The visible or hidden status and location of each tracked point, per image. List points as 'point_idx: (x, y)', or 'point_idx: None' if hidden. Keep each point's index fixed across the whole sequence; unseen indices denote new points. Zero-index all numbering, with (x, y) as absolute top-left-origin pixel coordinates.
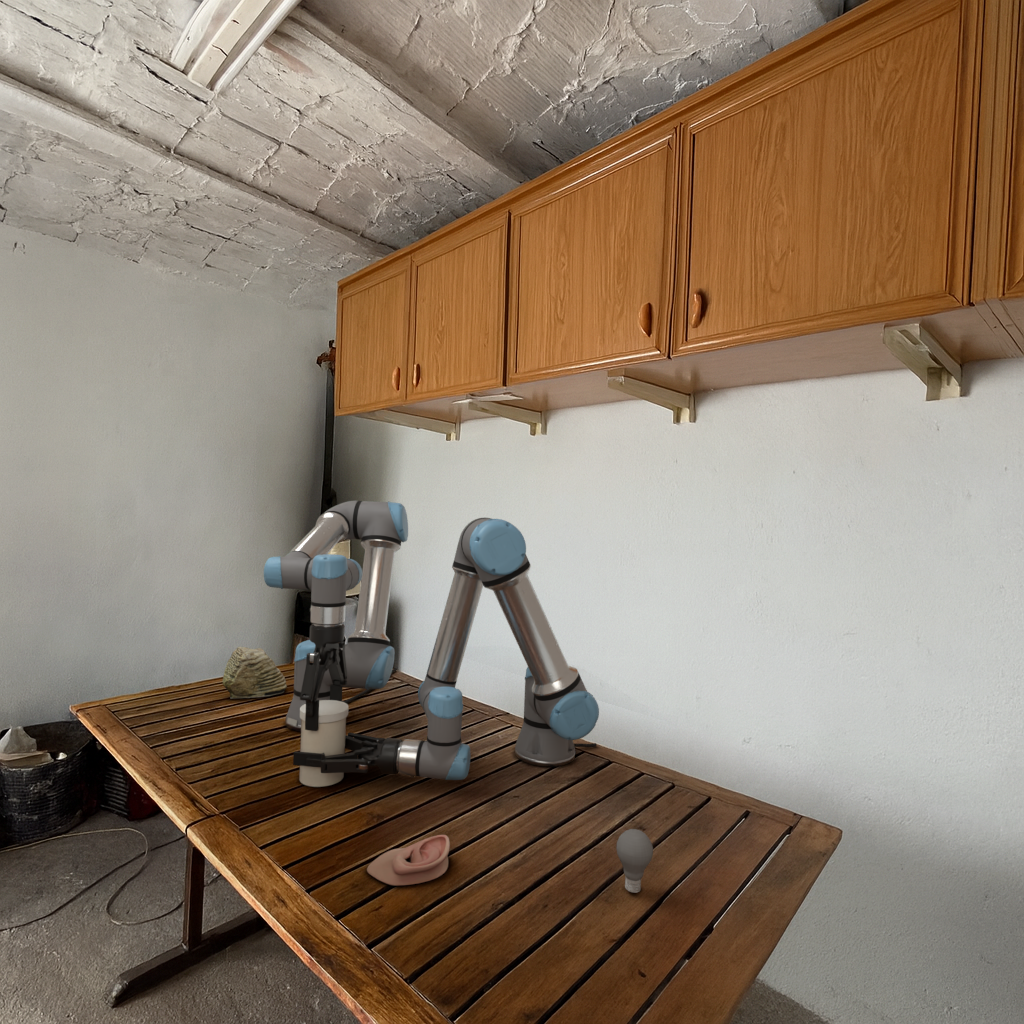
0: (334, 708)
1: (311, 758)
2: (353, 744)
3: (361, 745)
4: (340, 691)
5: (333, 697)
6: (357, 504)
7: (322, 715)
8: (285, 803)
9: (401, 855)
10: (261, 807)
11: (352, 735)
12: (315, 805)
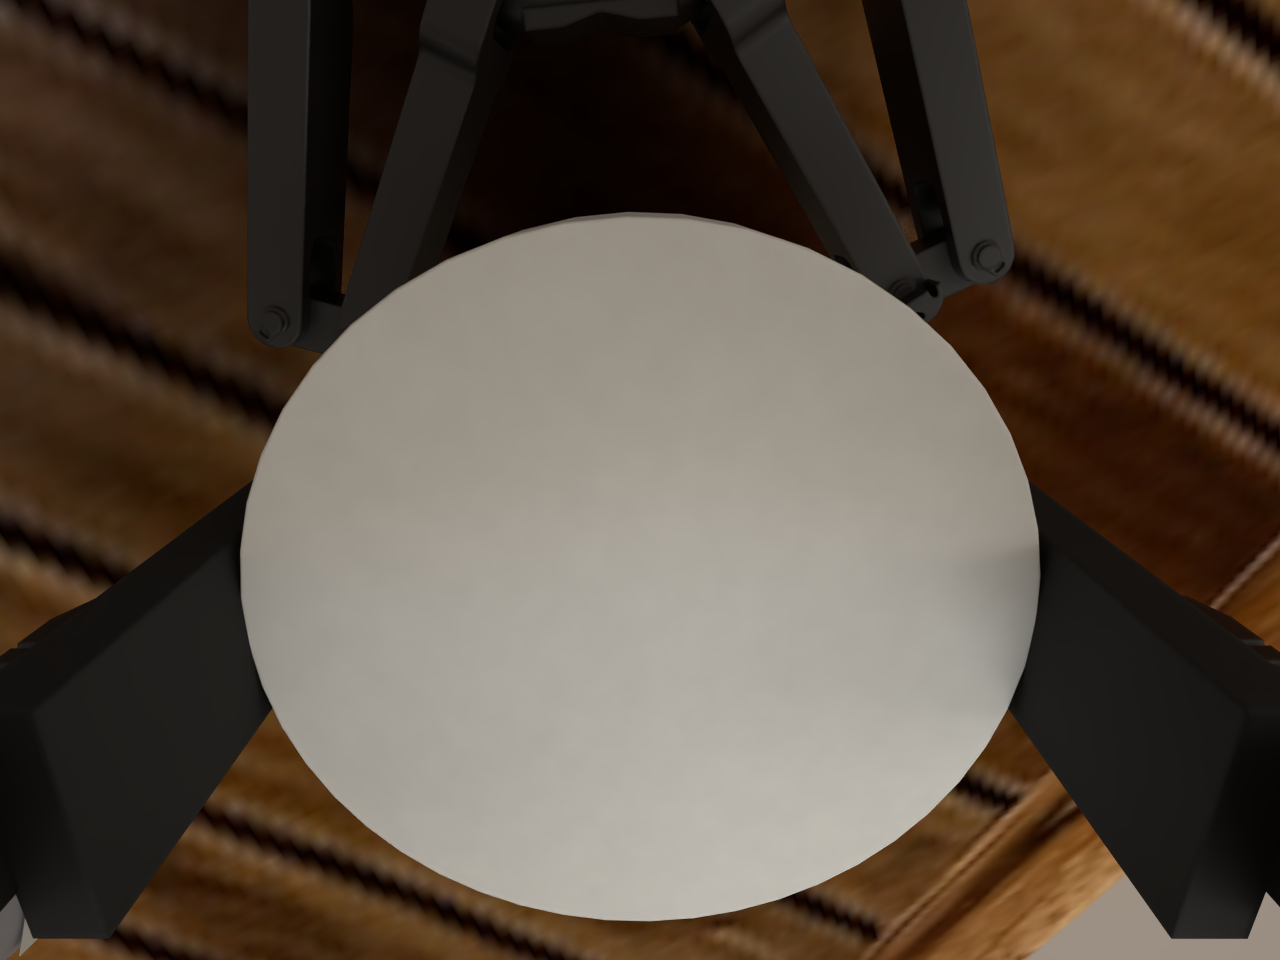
0: (636, 462)
1: None
2: (447, 195)
3: (483, 70)
4: (117, 646)
5: (230, 690)
6: None
7: (1026, 492)
8: (1032, 407)
9: None
10: (1092, 509)
11: (304, 279)
12: (1040, 210)
